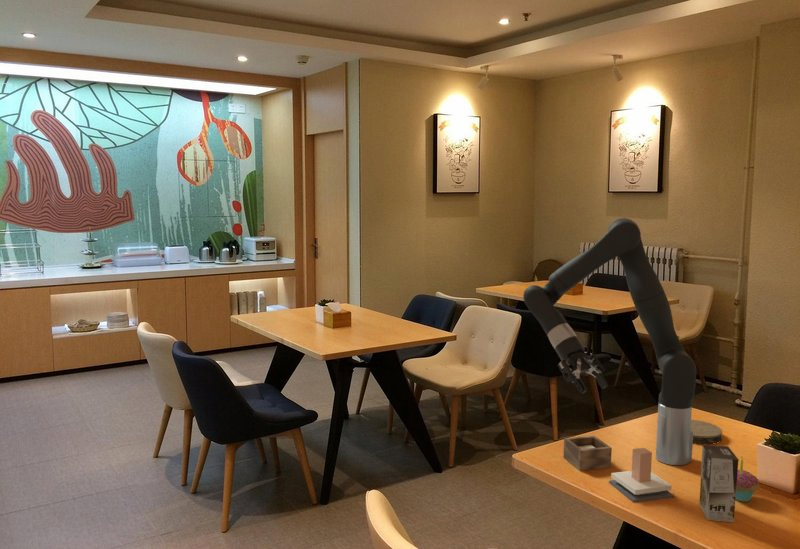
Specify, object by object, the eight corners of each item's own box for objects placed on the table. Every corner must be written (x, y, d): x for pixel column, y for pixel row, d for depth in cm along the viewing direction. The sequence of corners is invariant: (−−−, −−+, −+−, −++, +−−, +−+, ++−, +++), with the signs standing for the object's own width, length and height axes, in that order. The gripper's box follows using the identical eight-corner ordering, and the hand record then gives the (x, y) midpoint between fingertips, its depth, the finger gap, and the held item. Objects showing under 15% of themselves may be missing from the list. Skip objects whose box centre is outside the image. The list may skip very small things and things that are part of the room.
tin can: (687, 424, 234) (687, 416, 234) (731, 438, 221) (732, 430, 220) (659, 433, 225) (659, 425, 225) (703, 449, 212) (703, 439, 212)
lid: (645, 477, 189) (647, 441, 188) (671, 494, 179) (673, 456, 177) (611, 481, 186) (612, 445, 185) (634, 499, 176) (636, 460, 175)
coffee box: (735, 523, 165) (739, 459, 163) (706, 520, 166) (710, 457, 164) (725, 505, 173) (729, 445, 171) (698, 503, 175) (702, 443, 173)
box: (593, 454, 207) (594, 435, 206) (610, 467, 197) (611, 447, 196) (563, 457, 204) (564, 438, 204) (579, 470, 195) (580, 450, 194)
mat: (647, 478, 190) (647, 476, 190) (673, 497, 178) (674, 495, 178) (608, 482, 187) (608, 480, 187) (633, 502, 175) (633, 499, 175)
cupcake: (756, 507, 172) (759, 463, 171) (720, 499, 177) (722, 455, 175) (759, 495, 180) (762, 451, 178) (724, 487, 184) (727, 445, 183)
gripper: (555, 338, 193) (585, 387, 185) (589, 332, 201) (619, 378, 193) (541, 352, 198) (570, 400, 190) (575, 346, 206) (603, 392, 198)
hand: (595, 389), depth 192 cm, fingers open, 8 cm apart
